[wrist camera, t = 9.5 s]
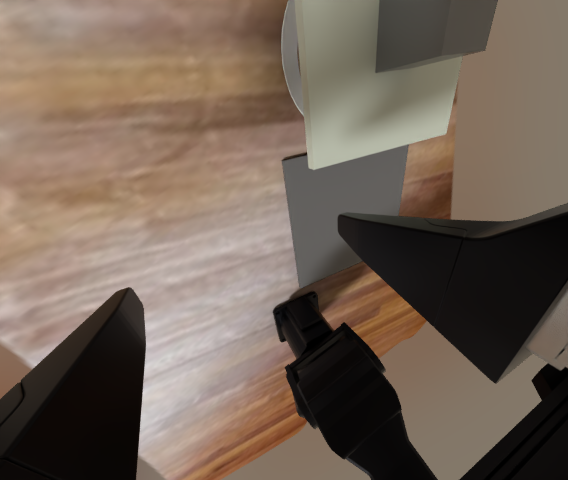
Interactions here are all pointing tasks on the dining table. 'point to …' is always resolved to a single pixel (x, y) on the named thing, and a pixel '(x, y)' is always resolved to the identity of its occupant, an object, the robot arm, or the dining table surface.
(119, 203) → the dining table surface
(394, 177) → the mat
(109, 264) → the dining table surface
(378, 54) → the lid
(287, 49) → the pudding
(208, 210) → the dining table surface
